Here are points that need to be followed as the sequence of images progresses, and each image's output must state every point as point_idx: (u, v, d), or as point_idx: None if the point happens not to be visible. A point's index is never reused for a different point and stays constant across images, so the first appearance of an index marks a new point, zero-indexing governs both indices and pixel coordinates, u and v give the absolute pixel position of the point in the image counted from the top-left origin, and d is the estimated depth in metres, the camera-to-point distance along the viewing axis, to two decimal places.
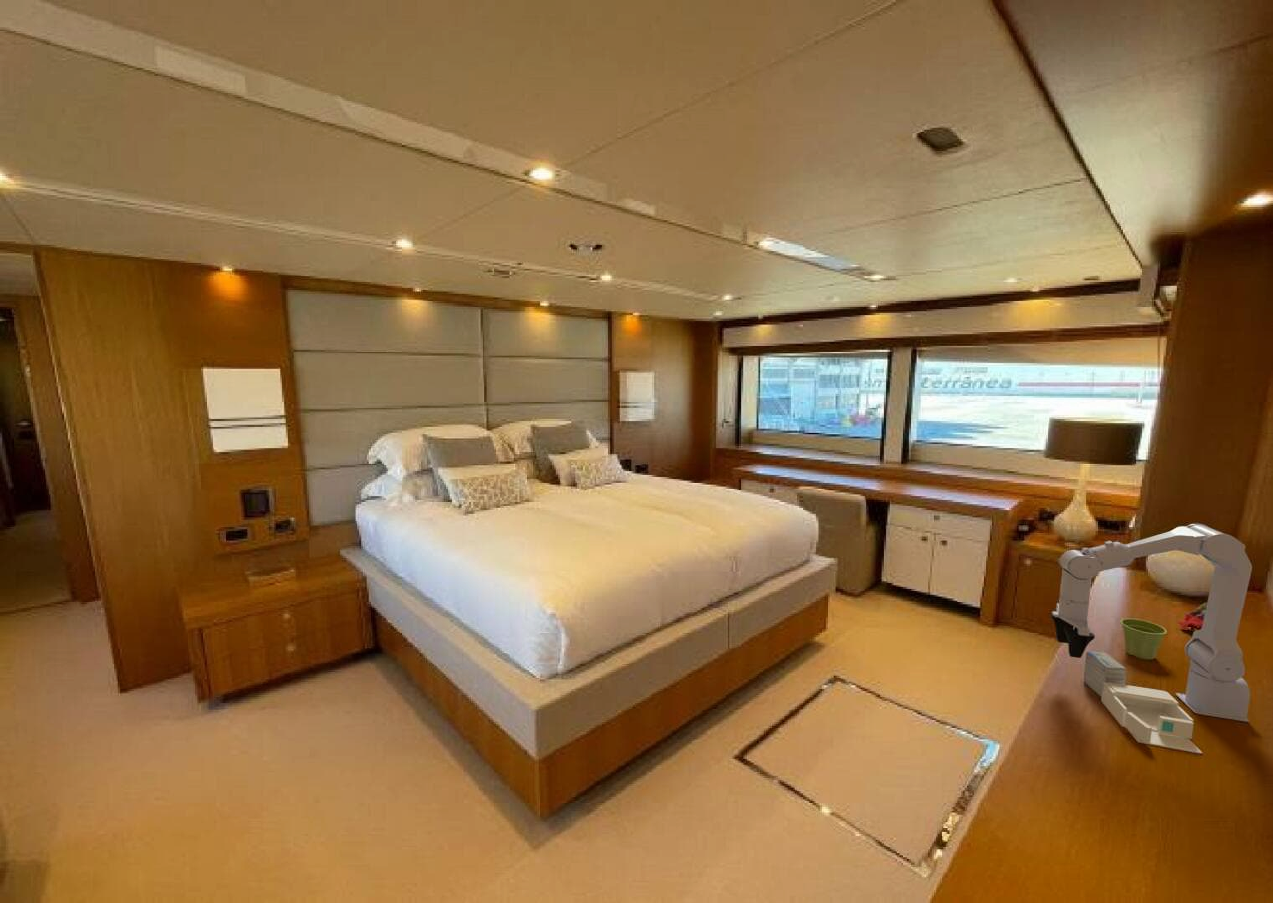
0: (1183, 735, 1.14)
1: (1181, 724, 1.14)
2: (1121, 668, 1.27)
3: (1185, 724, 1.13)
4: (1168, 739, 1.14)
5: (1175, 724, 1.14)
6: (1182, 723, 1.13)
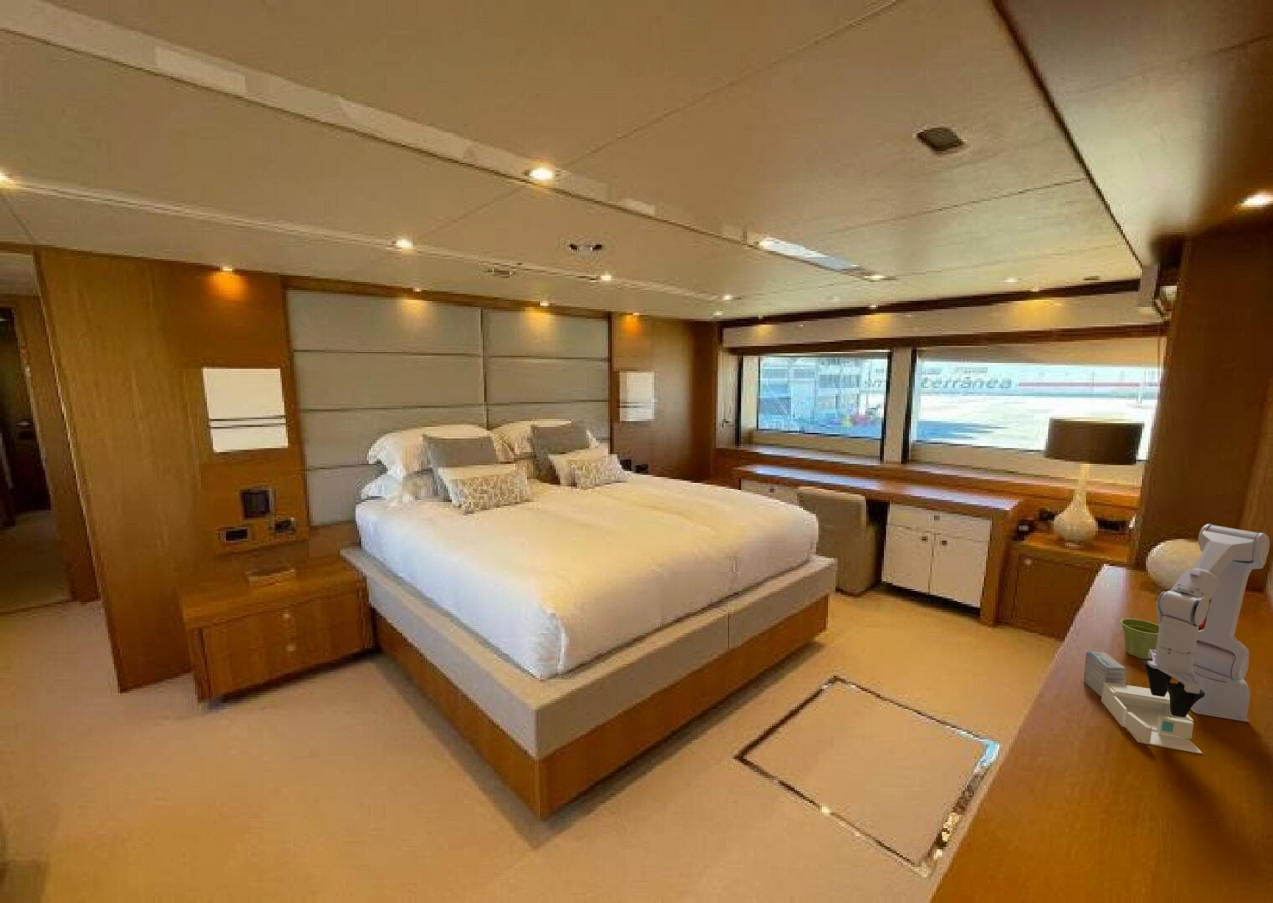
0: (1183, 735, 1.14)
1: (1181, 724, 1.14)
2: (1121, 668, 1.27)
3: (1185, 724, 1.13)
4: (1168, 739, 1.14)
5: (1175, 724, 1.14)
6: (1182, 723, 1.13)
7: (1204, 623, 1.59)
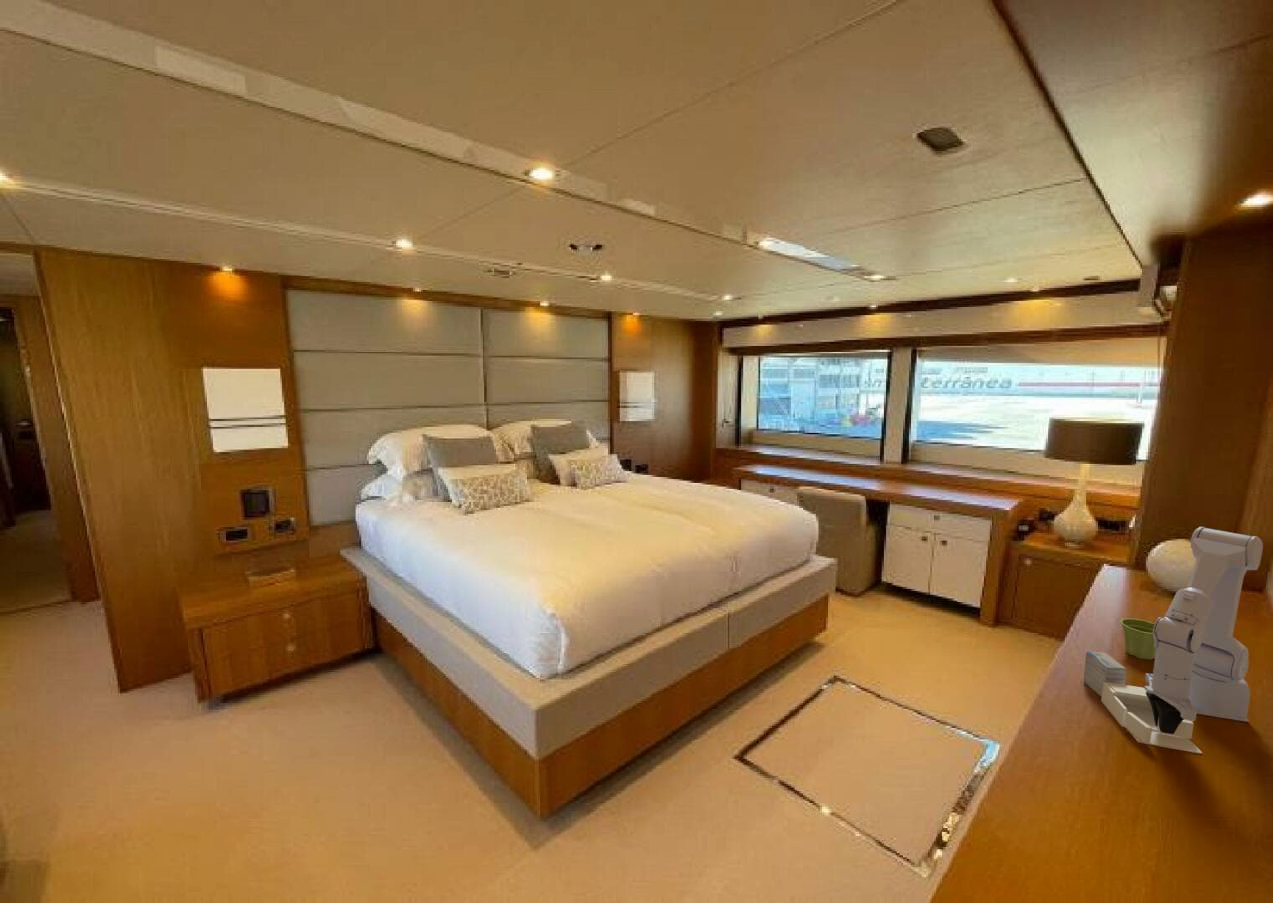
0: (1183, 735, 1.14)
1: (1181, 724, 1.14)
2: (1121, 668, 1.27)
3: (1185, 724, 1.13)
4: (1168, 739, 1.14)
5: None
6: (1182, 723, 1.13)
7: None
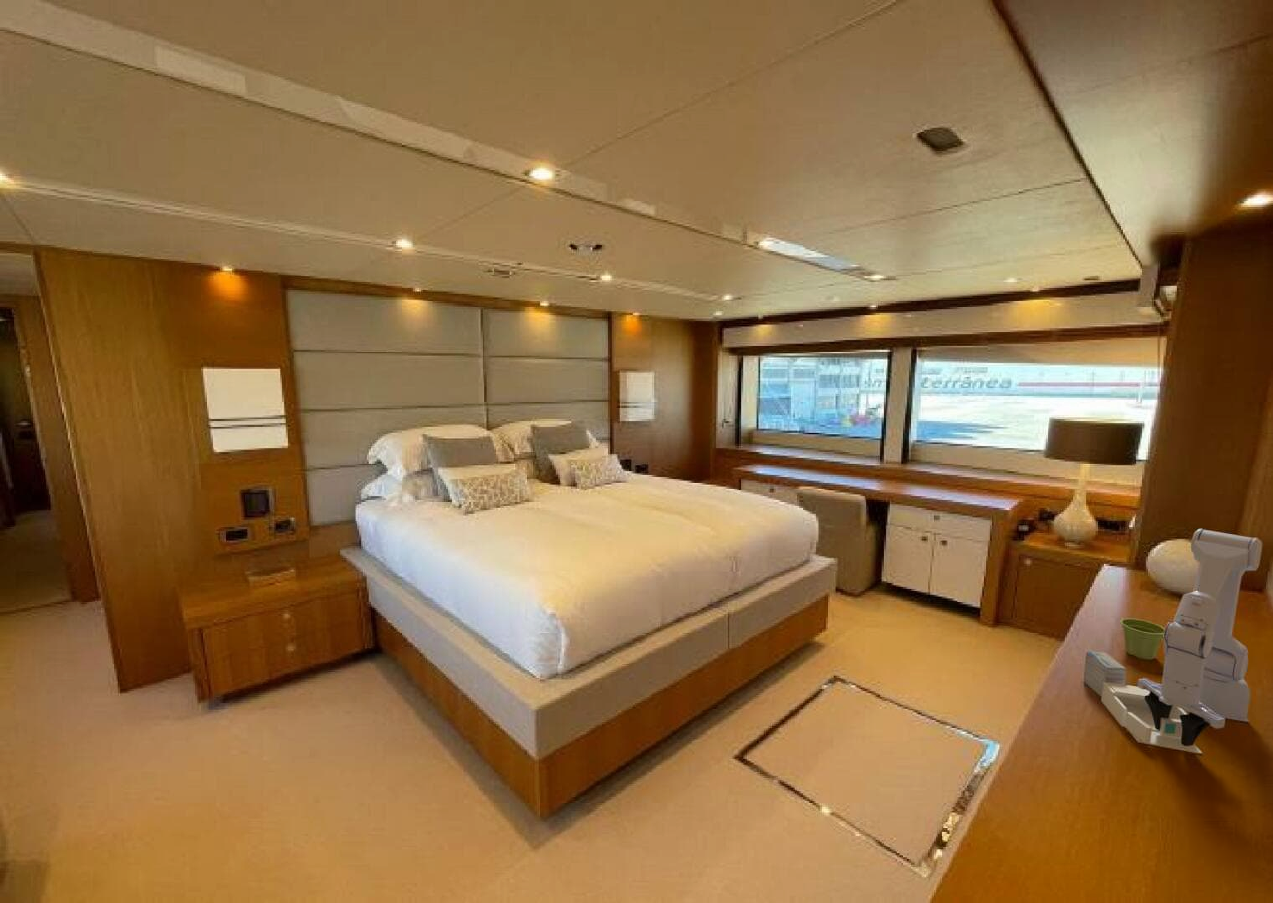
0: None
1: None
2: (1121, 668, 1.27)
3: None
4: (1168, 739, 1.14)
5: (1177, 725, 1.13)
6: None
7: None
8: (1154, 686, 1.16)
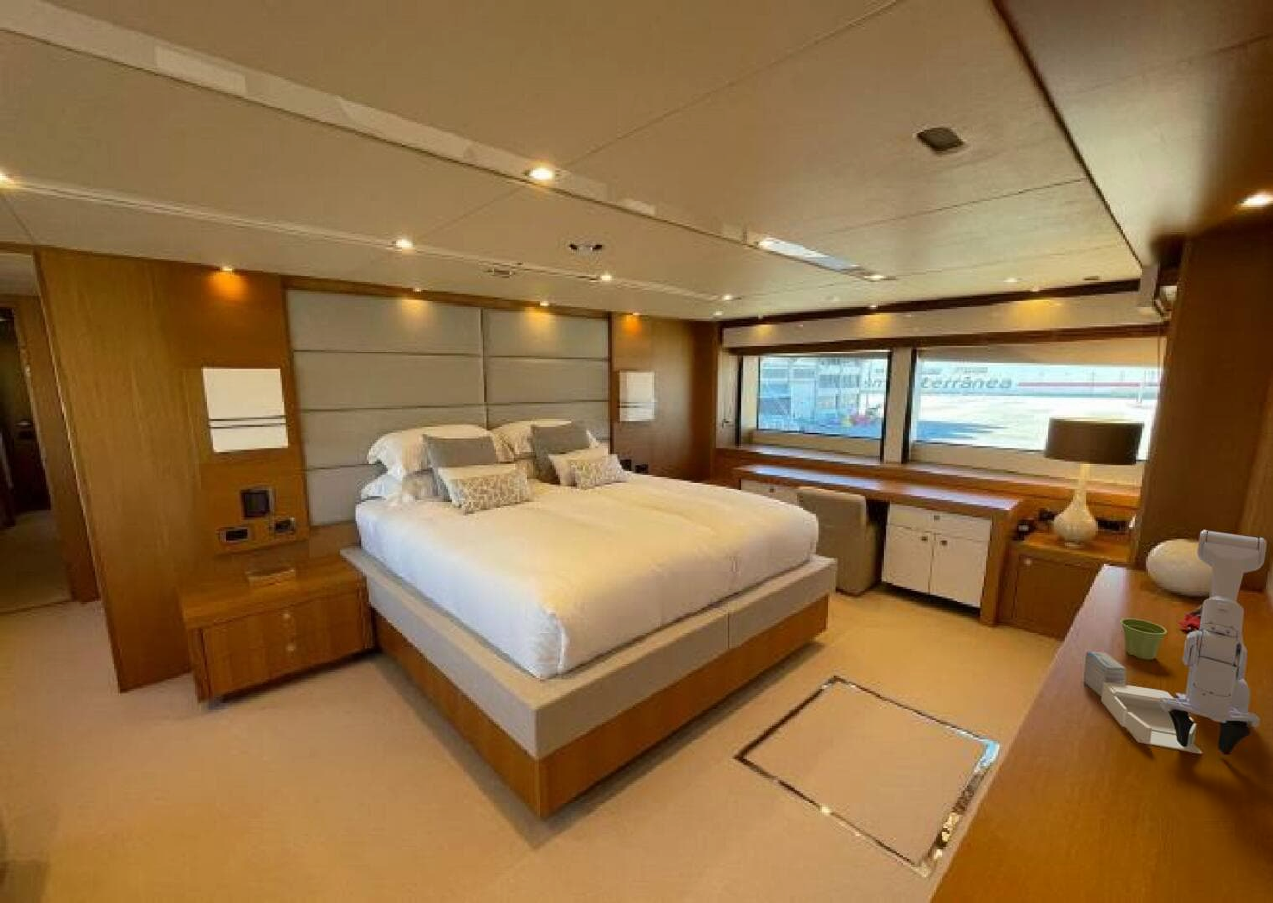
0: (1193, 739, 1.12)
1: (1194, 730, 1.12)
2: (1121, 668, 1.27)
3: (1194, 728, 1.12)
4: (1168, 739, 1.14)
5: (1193, 733, 1.11)
6: (1194, 729, 1.12)
7: None
8: (1180, 704, 1.10)
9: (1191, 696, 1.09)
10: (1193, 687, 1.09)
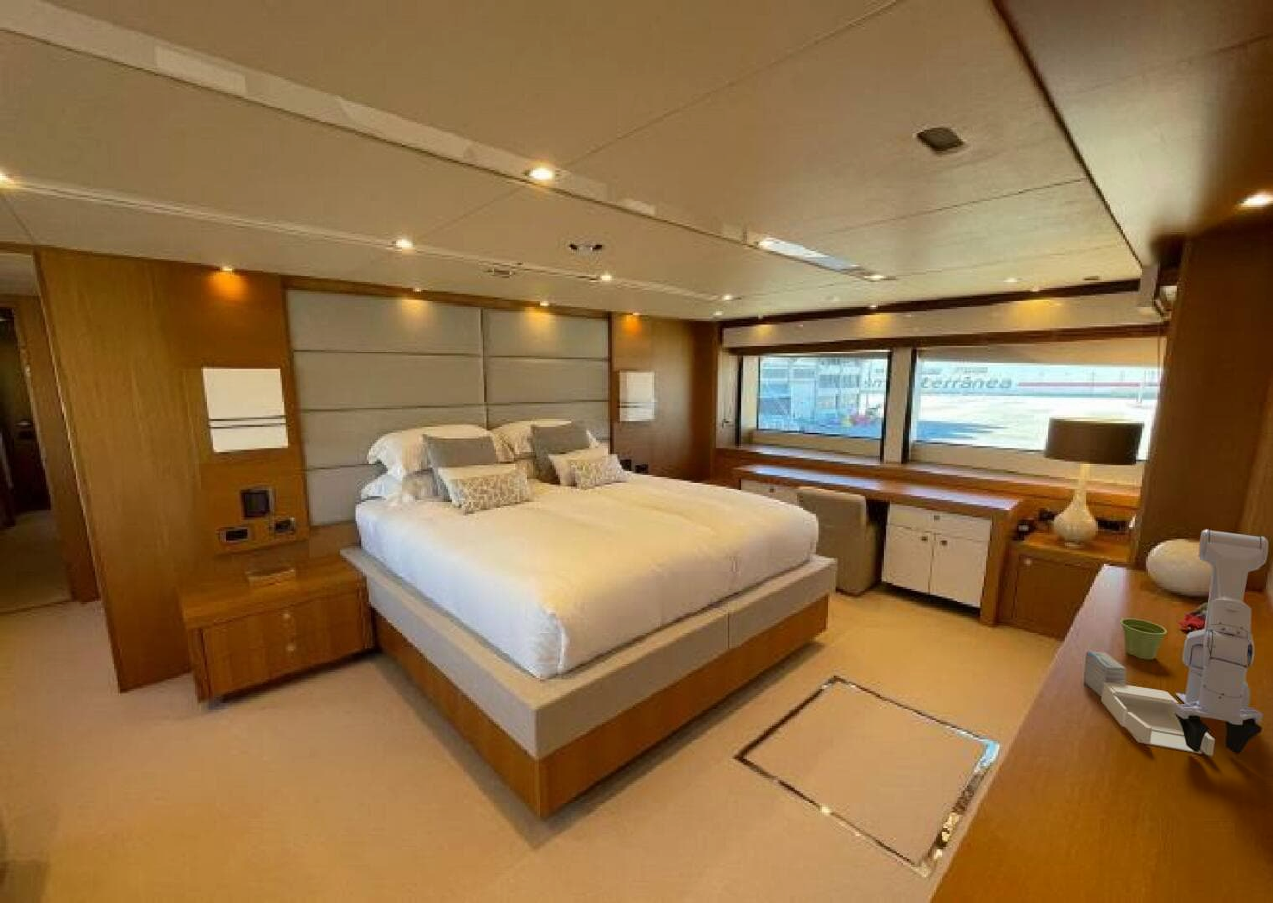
0: None
1: None
2: (1121, 668, 1.27)
3: None
4: (1168, 739, 1.14)
5: None
6: None
7: (1204, 623, 1.59)
8: (1196, 709, 1.08)
9: (1204, 700, 1.08)
10: (1207, 691, 1.07)
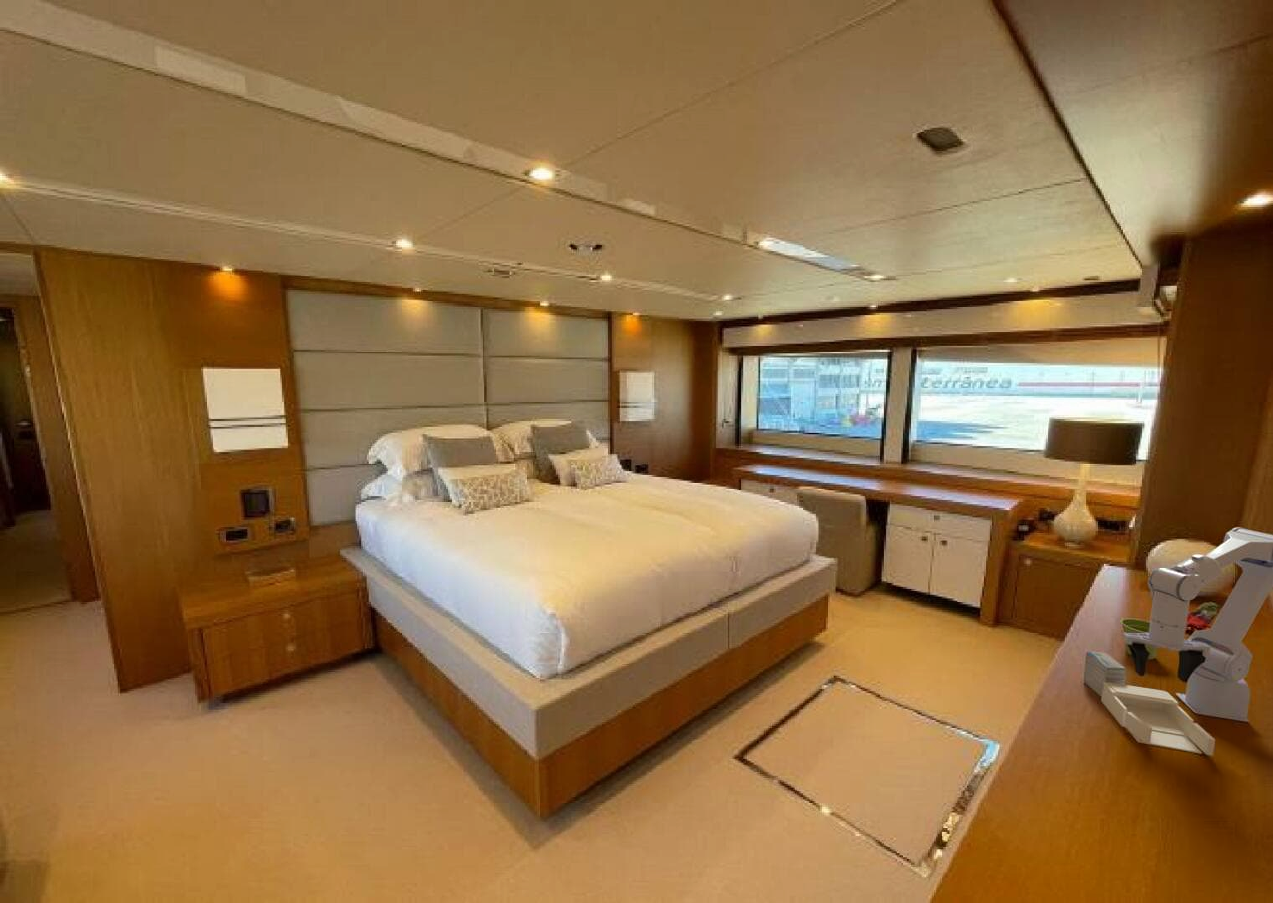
0: None
1: None
2: (1121, 668, 1.27)
3: None
4: (1168, 739, 1.14)
5: None
6: None
7: (1204, 623, 1.59)
8: (1141, 637, 1.20)
9: (1150, 630, 1.20)
10: (1152, 621, 1.19)
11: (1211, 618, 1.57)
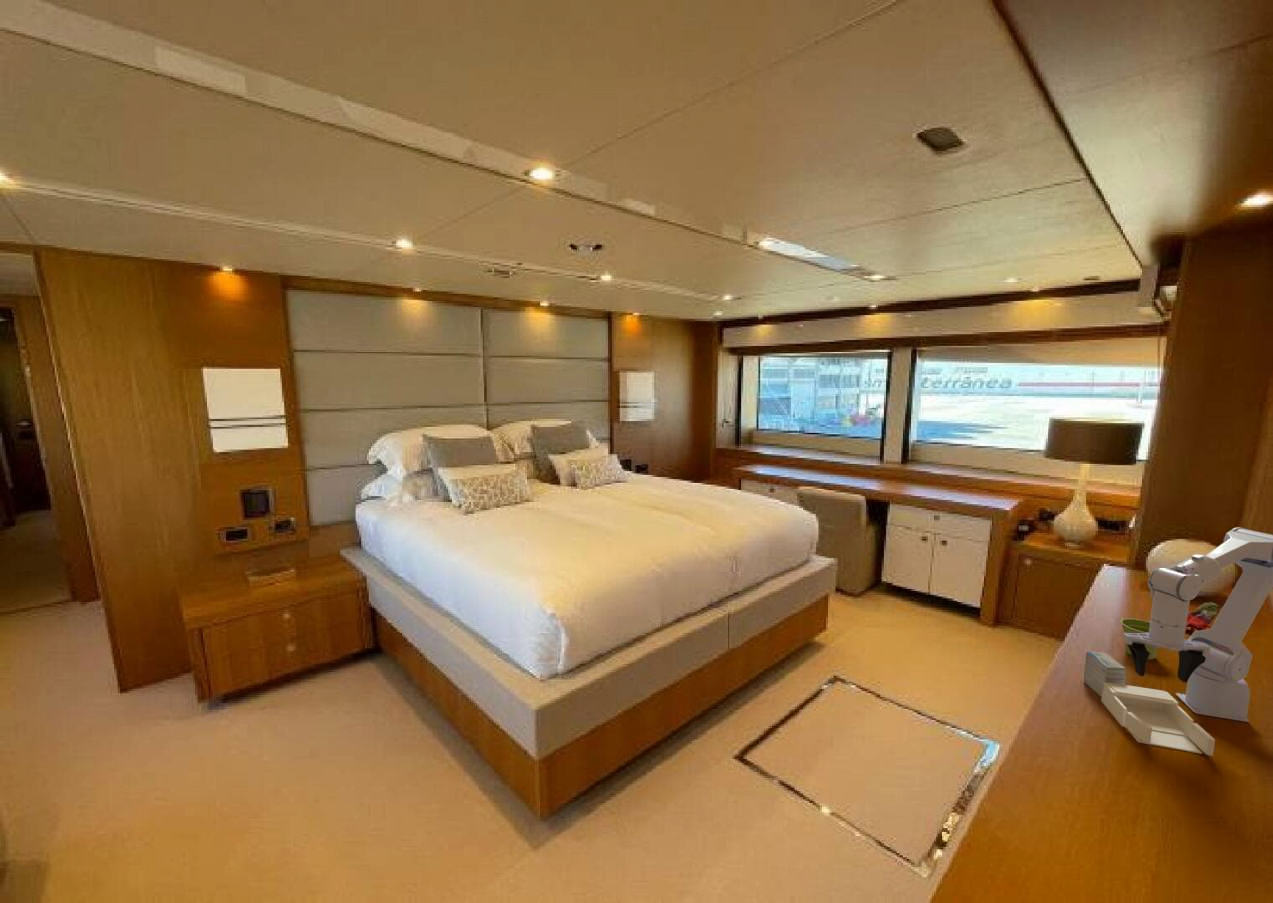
0: None
1: None
2: (1121, 668, 1.27)
3: None
4: (1168, 739, 1.14)
5: None
6: None
7: (1204, 623, 1.59)
8: (1141, 637, 1.20)
9: (1150, 630, 1.20)
10: (1152, 621, 1.19)
11: (1211, 618, 1.57)
